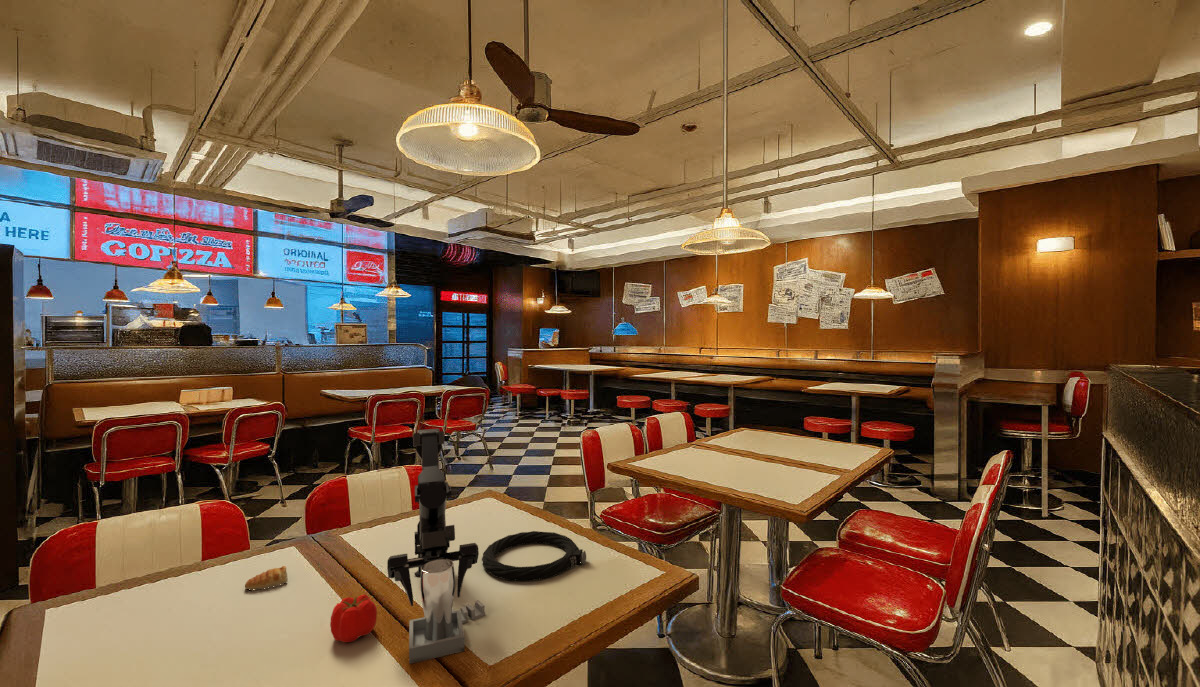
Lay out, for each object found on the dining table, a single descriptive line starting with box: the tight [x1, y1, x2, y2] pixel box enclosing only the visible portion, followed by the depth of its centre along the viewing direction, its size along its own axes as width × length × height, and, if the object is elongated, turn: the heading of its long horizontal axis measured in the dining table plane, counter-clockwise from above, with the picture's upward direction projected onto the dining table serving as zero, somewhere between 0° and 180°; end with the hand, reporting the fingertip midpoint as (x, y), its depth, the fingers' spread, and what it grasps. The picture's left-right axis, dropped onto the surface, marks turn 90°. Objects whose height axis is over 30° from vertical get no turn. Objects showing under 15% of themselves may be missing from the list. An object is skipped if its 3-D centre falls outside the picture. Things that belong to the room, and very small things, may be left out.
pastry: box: [244, 565, 289, 590], centre depth 128 cm, size 9×7×4 cm
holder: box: [408, 609, 465, 665], centre depth 102 cm, size 10×10×3 cm
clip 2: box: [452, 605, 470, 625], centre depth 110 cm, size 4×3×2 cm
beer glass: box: [419, 559, 456, 643], centre depth 103 cm, size 7×7×15 cm
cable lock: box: [481, 530, 587, 582], centre depth 140 cm, size 28×4×30 cm
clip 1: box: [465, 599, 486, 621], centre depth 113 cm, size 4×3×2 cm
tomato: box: [330, 594, 378, 643], centre depth 105 cm, size 9×9×8 cm
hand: (435, 601), depth 102 cm, fingers open, 9 cm apart
